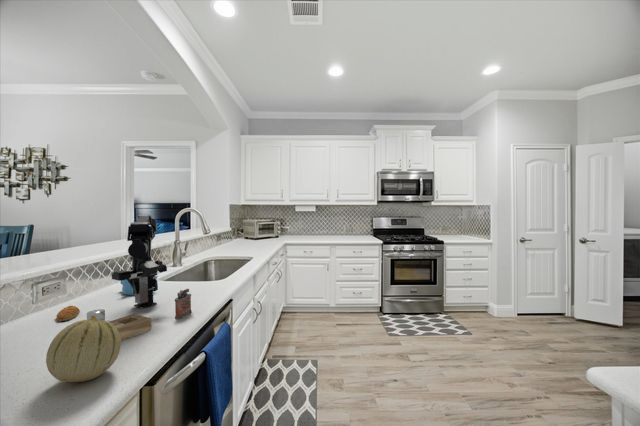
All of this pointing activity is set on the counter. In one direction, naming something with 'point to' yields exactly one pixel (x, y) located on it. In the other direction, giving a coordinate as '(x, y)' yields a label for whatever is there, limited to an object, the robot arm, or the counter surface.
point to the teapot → (128, 287)
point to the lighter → (182, 304)
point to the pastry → (68, 313)
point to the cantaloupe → (83, 350)
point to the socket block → (131, 325)
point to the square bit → (142, 290)
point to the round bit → (96, 314)
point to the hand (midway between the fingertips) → (141, 293)
